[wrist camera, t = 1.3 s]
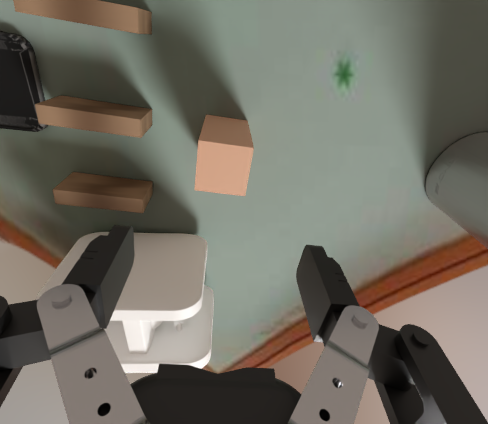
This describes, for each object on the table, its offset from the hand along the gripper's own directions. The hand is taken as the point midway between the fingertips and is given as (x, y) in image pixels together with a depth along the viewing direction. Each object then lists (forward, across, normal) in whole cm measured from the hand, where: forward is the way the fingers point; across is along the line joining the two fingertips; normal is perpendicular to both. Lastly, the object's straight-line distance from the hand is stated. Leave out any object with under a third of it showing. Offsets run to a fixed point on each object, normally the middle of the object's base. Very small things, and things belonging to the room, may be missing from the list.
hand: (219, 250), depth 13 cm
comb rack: (+18, +11, -1) cm, 21 cm away
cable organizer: (+18, +7, +17) cm, 26 cm away
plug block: (+18, 0, 0) cm, 18 cm away
